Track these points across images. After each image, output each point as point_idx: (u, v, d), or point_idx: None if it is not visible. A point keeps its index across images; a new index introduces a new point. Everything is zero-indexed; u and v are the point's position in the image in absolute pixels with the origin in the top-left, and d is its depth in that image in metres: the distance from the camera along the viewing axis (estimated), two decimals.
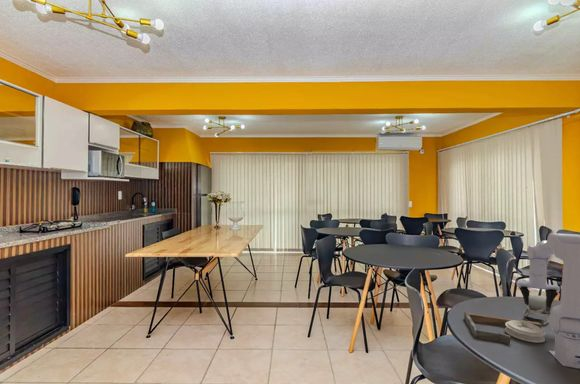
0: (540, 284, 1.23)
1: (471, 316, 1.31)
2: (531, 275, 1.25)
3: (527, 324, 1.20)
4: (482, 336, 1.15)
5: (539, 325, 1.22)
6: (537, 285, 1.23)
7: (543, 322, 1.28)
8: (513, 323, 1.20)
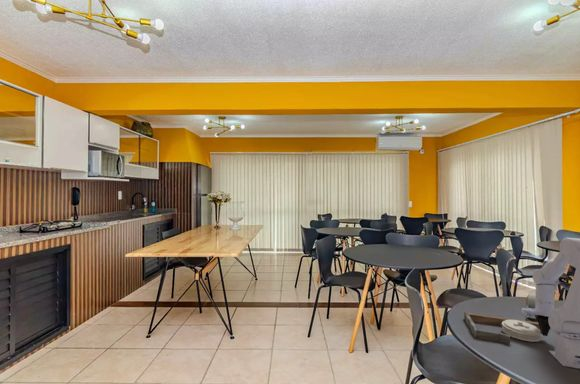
0: (547, 312, 1.12)
1: (471, 316, 1.31)
2: (537, 302, 1.15)
3: (523, 323, 1.20)
4: (482, 336, 1.15)
5: None
6: (544, 313, 1.13)
7: None
8: (509, 322, 1.21)
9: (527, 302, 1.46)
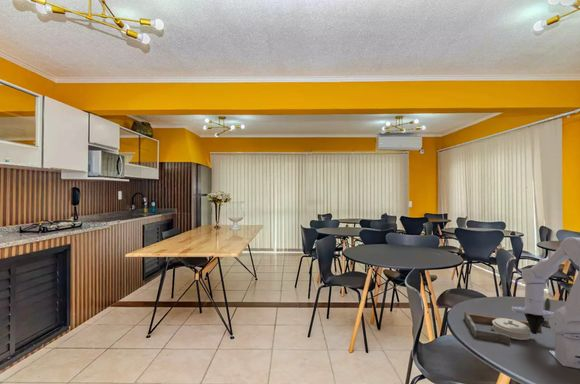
0: (536, 310, 1.14)
1: (471, 316, 1.31)
2: (527, 300, 1.16)
3: (514, 322, 1.21)
4: (482, 336, 1.15)
5: None
6: (533, 311, 1.14)
7: (548, 323, 1.27)
8: (499, 321, 1.22)
9: None
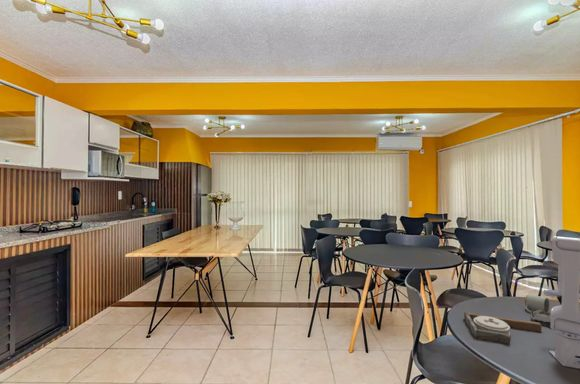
0: None
1: (471, 316, 1.31)
2: (560, 283, 1.15)
3: (494, 319, 1.23)
4: (482, 336, 1.15)
5: (539, 325, 1.22)
6: None
7: None
8: (480, 318, 1.24)
9: (526, 302, 1.45)
